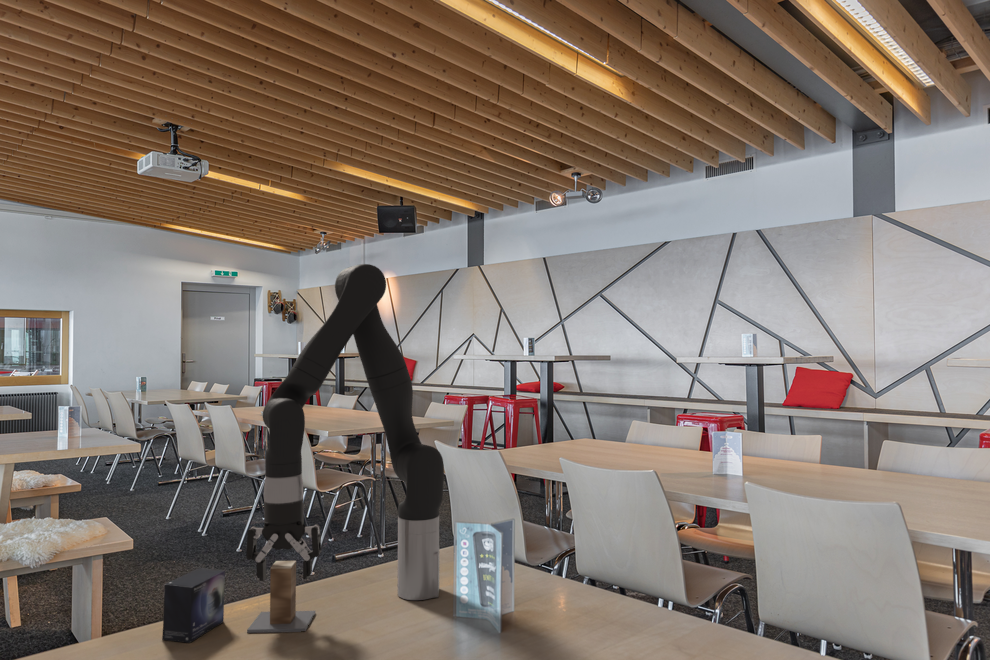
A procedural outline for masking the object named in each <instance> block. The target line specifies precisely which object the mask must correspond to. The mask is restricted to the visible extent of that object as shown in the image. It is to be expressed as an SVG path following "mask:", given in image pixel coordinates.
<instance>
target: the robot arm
mask: <svg viewBox="0 0 990 660" xmlns="http://www.w3.org/2000/svg"><path fill="white" fill-rule="evenodd" d="M386 289H387V280H386V277H385V275H384V273H383V271H382V270H381V269H380V268H379V267H377V266H376V265H373V264H370V263H368V264H367V263H362V264H357V265H356V264H355V265H353V266H349V267H345V268H344V269H343V270H341V271H340V272H339V273H338V275H337V277H336V279H335V283H334V292H335V295H336V297H337V300H338V302H337V304H336V306H335V307H334V309H333V310H332V312H331V314H330V315H329V316H328V318H327V319H326V320H325V322H324V323H323V324H322V326H321V327H320V328H319V329H318V330H317V331H316V333H314V334H313V336H312V337H311V339H309V340H308V341H307V343H306V344H305V346H304V347H303V349H302V350H301V351H300V354H299V355H298V357H297V358H296V360H295V362H294V363H293V364H292V367H291V368H290V370H289V372H288V374H287V376H286V377H285V378H284V379H283V381H281V383H280V384H279V386H278V387H277V388H276V389H275V391H274V392H273V393H272V394H271V396H270V397H269V399H268V400H267V402H266V404H265V405H264V408H263V409H262V421H263V423H264V424H265V426H266V427H267V428H268V431H269V433H268V435H269V436H268V448H267V450H265V451H266V452H265V463H264V464H265V465H264V468H265V473H264V474H265V475H264V476H265V477H264V478H265V479H264V487H263V500H264V501H263V507H264V508H263V511H264V513H263V516H264V517H263V520H264V521H263V522H264V525H263V527H257V526H255V525H253V526H252V527H250V528H249V529H248V531H247V535H246V539H247V540H246V553H245V554H246V556H245V557H246V559H247V560H249V561H250V560H252V561H255V563H256V577H257V579H259V582H264V581H265V580H266V579H267V559H265V558H266V557H267V554H268V553H269V552H270V551H271V549H274V550H275V551H279V550H289V551H290V550H292V549H294V550H295V552H297V554H299V555H300V556H301V557H302V558H303V561H302V579H303V580H308V579H309V577H310V576H311V575H312V572H313V559H314V558H318V557H319V556H320V554H321V553H322V540H321V526H320V524H318V523H316V524H314V525H312V526H311V525H310V526H306V525H305V523H304V520H305V519H304V482H303V466H302V465H303V461H302V460H303V458H302V449H303V442H304V435H305V427H306V426H305V425H306V421H305V420H306V417H305V411H304V406H305V405H306V404H307V402H308V400H309V399H310V397H311V396H313V395H315V394H316V393H318V391H319V390H320V388H321V387H322V385H323V383H324V382H325V380H326V378H327V377H328V376H329V374H330V372H331V370H332V368H333V366H334V365H335V363H336V361H337V360H338V358H339V356H340V355H341V353H342V351H343V350H344V348H345V347H346V345H347V343H349V340H350V339H352V336H353V337H354V341H355V345H356V349H357V351H358V356H359V358H360V363H361V366H362V368H363V371H364V374H365V378H366V382H367V384H368V387H369V390H370V393H371V396H372V398H373V400H374V404H375V407H376V410H377V413H378V417H379V419H380V421H381V424H382V427H383V430H384V431H383V432H384V435H385V439H386V443H387V447H388V452H389V456H390V461H391V465H392V470H393V472H394V474H395V476H397V478H399V480H401V481H402V482H404V483H406V489H405V490H406V491H405V498H404V500H403V501H400V503H399V504H398V506H397V585H396V586H397V596H398V597H400V598H401V599H403V600H408V601H422V600H428V599H429V600H431V599H433V598H439V595H440V508H441V506H442V503H443V498H444V479H445V465H444V459H443V456H442V454H441V452H440V451H439V450H438V449H437V448H436V447H434V446H432V445H428V444H422V442H421V439H420V437H419V435H418V432H417V430H416V426H415V423H414V419H413V402H414V401H413V399H414V398H413V396H414V392H413V391H414V390H413V382H412V379H411V376H410V372H409V369H408V367H407V364H406V363H407V362H406V361H405V358H404V356H403V353H402V351H401V350H400V348H399V347H398V345H397V344H396V342H395V340H394V339H393V338H392V336H391V334H390V333H389V332H388V330H387V329H386V326H385V325H384V322H383V320H382V316H381V314H380V310H379V307H378V304H379V302H380V300H382V298H383V297H384V295H385V293H386ZM305 534H307V535H308V537H309V538H310V539H311V547H312V548H311V549H310V548H309V546H308V544H307V543H306V541H305V540H304V539H303V537H304V535H305ZM260 536H263V538H264V539H265V540H266V543H265V545H264V546H263V547H262V549H261V550H260V551H257V545H258V539H260Z"/></svg>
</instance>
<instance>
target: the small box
mask: <svg viewBox="0 0 990 660" xmlns="http://www.w3.org/2000/svg"><path fill="white" fill-rule="evenodd" d="M225 574H226V570H223V569H214V568H206V567H198V568H196V569H194V570H191V571H190V572H186V573H185V574H183V575H181V576H178V577H176V578H175V579H173V580H170V581H168V582H165V583H164V586H163V587H164V591H163V592H164V593H163V619H162V620H163V621H162V637H161V639H162V641H170V642H179V643H186V644H187V643H189V644H191V643H192V642H194V641H195V640H197V639H199V638H200V637H202V636H204V635H205V634H206V633H208V632H209V631H211V630H213V629H214V628H217V627H218V626H219V625H221V624H222V623H224V615H225V614H224V613H225V609H224V608H225V584H226V583H225V580H226V578H225V577H226V575H225Z"/></svg>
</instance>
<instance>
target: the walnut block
mask: <svg viewBox="0 0 990 660" xmlns="http://www.w3.org/2000/svg"><path fill="white" fill-rule="evenodd" d="M269 587H270V588H269V590H270V591H269V596H270V597H269V612H270V624H291V622H292V621H293V619H294V617H295V616H296V611H297V610H296V608H297V607H296V605H297V594H296V593H297V592H296V591H297V560H275V562H274V563H273V564H272V565H271V567H270V586H269Z"/></svg>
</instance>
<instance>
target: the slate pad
mask: <svg viewBox="0 0 990 660" xmlns="http://www.w3.org/2000/svg"><path fill="white" fill-rule="evenodd" d="M313 616H316V610H296V616H295V617H294V619H293V621H292V622H291V624H270V611H261V612H260V613H258V615H257V617H256V618H254V620H253V622H252V623H251V624H250V625H249V627H248V628H247V629H246V633H247V634H250V633H251V634H257V633H300V632H301V631H305V632H306V631H307V629H308V627H309V626H308V625H310V624H311V622H312V620H313V619H312V618H314V617H313ZM301 633H302V632H301Z"/></svg>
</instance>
